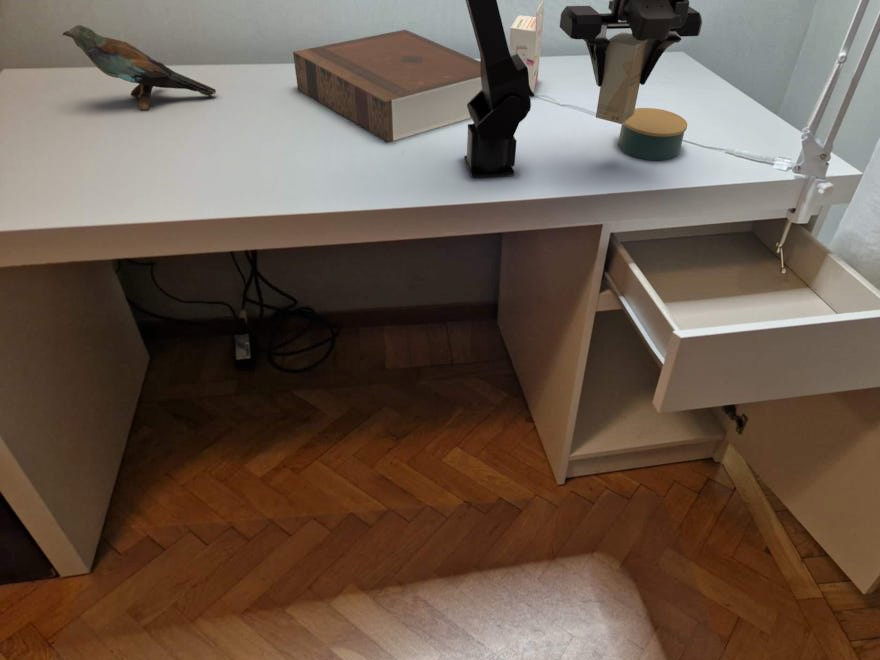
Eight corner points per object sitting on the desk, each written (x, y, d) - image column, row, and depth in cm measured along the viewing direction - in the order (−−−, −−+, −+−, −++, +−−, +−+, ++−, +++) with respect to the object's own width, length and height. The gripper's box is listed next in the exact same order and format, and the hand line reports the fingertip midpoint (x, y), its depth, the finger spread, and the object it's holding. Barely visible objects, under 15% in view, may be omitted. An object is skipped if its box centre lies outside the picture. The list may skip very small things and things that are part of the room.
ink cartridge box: (512, 79, 134) (518, -4, 124) (537, 82, 133) (546, -1, 124) (505, 94, 128) (510, 8, 118) (531, 98, 127) (539, 11, 117)
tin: (631, 162, 108) (636, 135, 105) (607, 135, 116) (612, 109, 113) (691, 159, 110) (698, 131, 107) (664, 132, 118) (670, 106, 115)
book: (387, 142, 110) (385, 101, 105) (297, 89, 125) (292, 51, 121) (500, 108, 122) (502, 71, 118) (406, 64, 138) (405, 29, 133)
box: (621, 125, 100) (635, 45, 93) (594, 118, 102) (606, 39, 95) (635, 114, 104) (649, 36, 96) (608, 107, 105) (621, 30, 98)
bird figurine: (216, 80, 124) (126, -23, 110) (218, 101, 117) (123, -6, 103) (159, 123, 126) (62, 26, 112) (158, 146, 119) (55, 47, 105)
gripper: (594, -21, 82) (576, 109, 92) (735, -23, 85) (703, 103, 96) (565, -42, 90) (552, 79, 100) (696, -43, 94) (670, 75, 104)
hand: (620, 84), depth 100 cm, fingers closed on box, 6 cm apart
